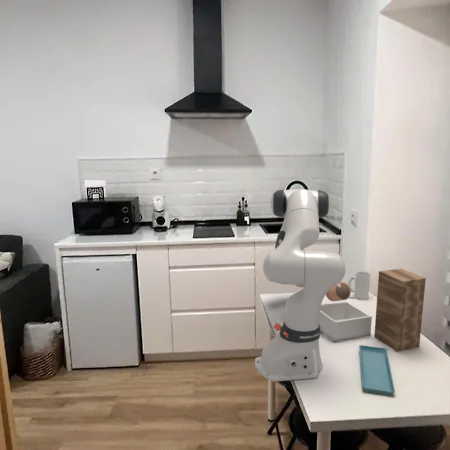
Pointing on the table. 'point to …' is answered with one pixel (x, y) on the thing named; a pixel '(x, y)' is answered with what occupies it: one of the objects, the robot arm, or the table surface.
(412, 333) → the wooden block
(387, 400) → the table surface
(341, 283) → the pot
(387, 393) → the teal serving tray
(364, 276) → the mug
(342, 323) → the bin
